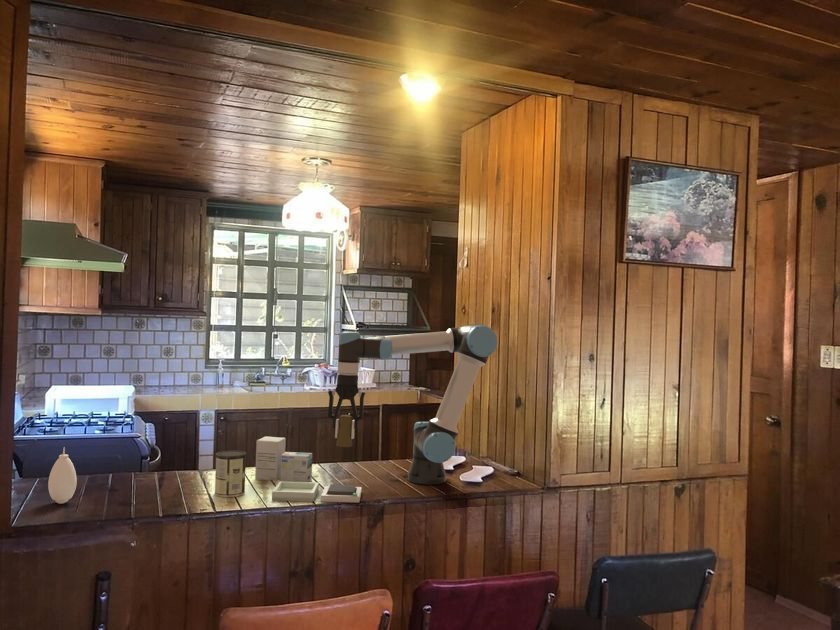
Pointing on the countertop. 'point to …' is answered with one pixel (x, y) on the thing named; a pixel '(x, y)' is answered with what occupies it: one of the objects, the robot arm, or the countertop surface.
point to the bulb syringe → (62, 479)
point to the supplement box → (269, 457)
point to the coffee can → (230, 473)
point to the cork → (344, 431)
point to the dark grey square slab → (341, 489)
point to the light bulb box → (296, 467)
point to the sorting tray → (295, 491)
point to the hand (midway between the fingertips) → (344, 437)
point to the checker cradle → (341, 496)
